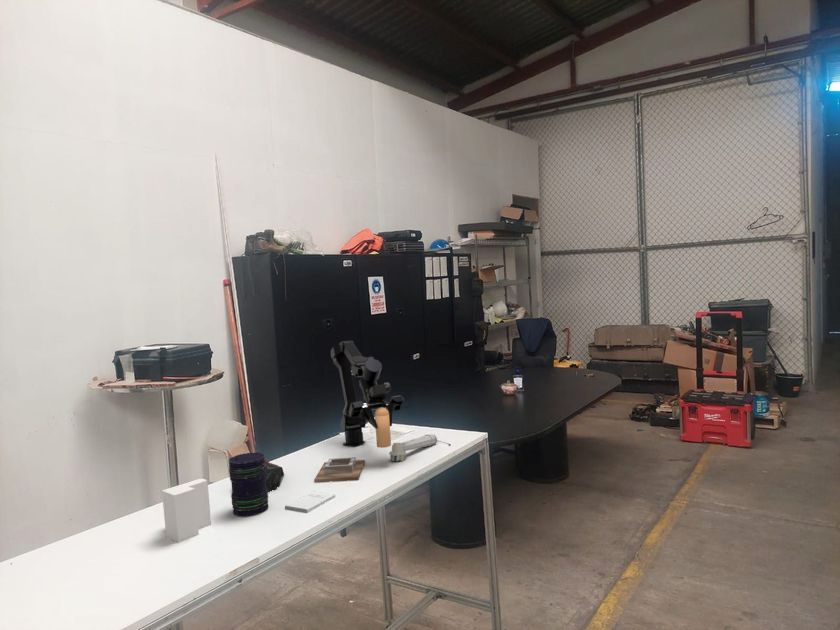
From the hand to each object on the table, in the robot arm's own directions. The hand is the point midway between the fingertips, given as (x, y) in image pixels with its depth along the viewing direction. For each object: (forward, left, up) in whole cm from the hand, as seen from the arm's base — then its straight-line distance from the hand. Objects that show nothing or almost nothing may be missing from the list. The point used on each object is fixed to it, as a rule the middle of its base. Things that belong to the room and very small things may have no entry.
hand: (384, 427), depth 195 cm
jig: (-11, -11, -13) cm, 20 cm away
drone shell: (-27, -31, -14) cm, 43 cm away
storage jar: (-11, -47, -14) cm, 50 cm away
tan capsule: (-1, +1, -7) cm, 7 cm away
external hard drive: (+1, -35, -14) cm, 38 cm away
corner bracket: (-15, -64, -14) cm, 67 cm away
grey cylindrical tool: (-2, +17, -14) cm, 22 cm away
